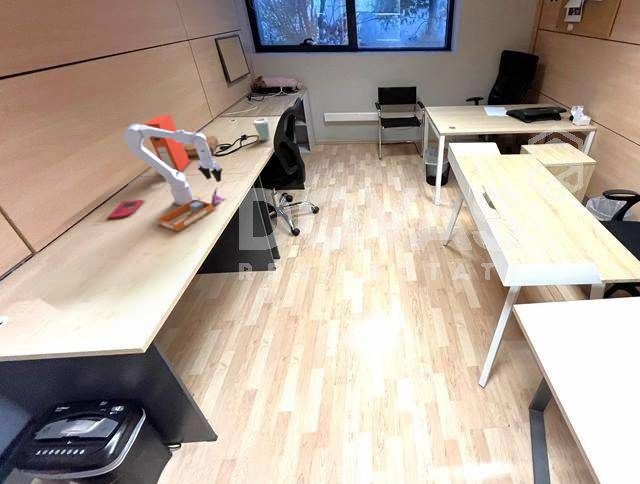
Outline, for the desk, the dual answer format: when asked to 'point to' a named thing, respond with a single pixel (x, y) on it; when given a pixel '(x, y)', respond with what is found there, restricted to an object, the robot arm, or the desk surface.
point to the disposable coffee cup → (262, 128)
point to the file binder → (168, 144)
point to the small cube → (196, 206)
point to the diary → (191, 149)
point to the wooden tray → (182, 211)
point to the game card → (216, 197)
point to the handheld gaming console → (125, 209)
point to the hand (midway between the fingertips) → (214, 179)
